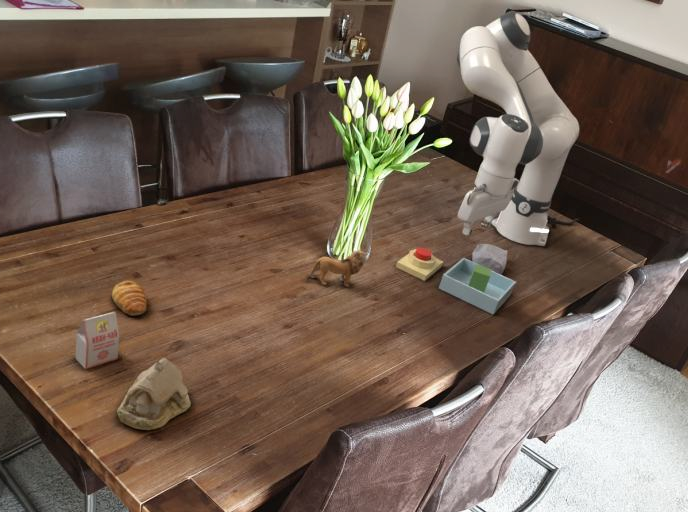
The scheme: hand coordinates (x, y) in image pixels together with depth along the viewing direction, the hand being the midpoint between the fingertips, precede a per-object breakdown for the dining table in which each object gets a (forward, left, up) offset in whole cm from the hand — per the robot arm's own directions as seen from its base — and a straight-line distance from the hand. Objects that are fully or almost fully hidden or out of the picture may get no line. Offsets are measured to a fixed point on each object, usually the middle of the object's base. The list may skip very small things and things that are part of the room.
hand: (475, 230), depth 197 cm
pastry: (+74, -48, -17) cm, 90 cm away
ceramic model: (+96, -22, -17) cm, 100 cm away
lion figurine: (+28, -23, -17) cm, 40 cm away
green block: (0, +6, -16) cm, 17 cm away
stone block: (-20, +2, -17) cm, 26 cm away
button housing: (+1, -11, -16) cm, 20 cm away
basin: (0, +6, -16) cm, 17 cm away
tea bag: (+93, -39, -17) cm, 102 cm away
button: (+1, -11, -13) cm, 17 cm away
